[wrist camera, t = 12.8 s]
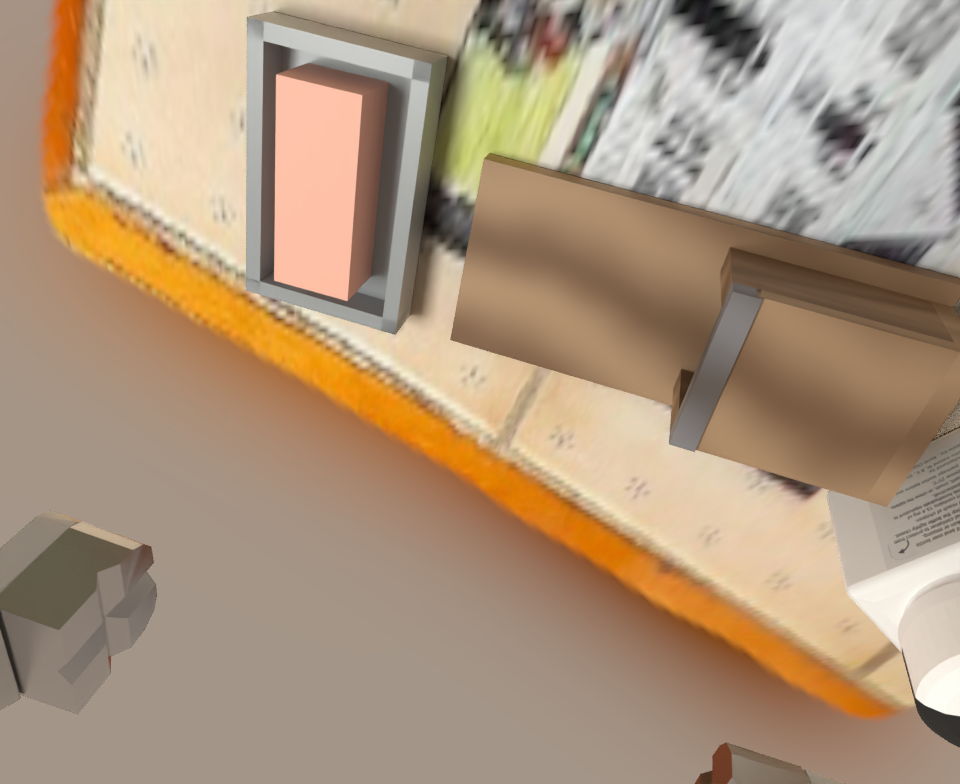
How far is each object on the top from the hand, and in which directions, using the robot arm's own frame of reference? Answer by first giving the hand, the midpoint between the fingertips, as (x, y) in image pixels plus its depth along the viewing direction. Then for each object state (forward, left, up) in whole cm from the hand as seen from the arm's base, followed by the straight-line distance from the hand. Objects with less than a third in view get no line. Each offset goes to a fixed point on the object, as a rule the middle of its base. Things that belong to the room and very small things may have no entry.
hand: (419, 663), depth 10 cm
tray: (+5, -13, -29) cm, 32 cm away
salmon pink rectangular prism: (+5, -13, -28) cm, 32 cm away
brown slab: (+7, +5, -29) cm, 30 cm away
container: (+14, +21, -29) cm, 39 cm away
